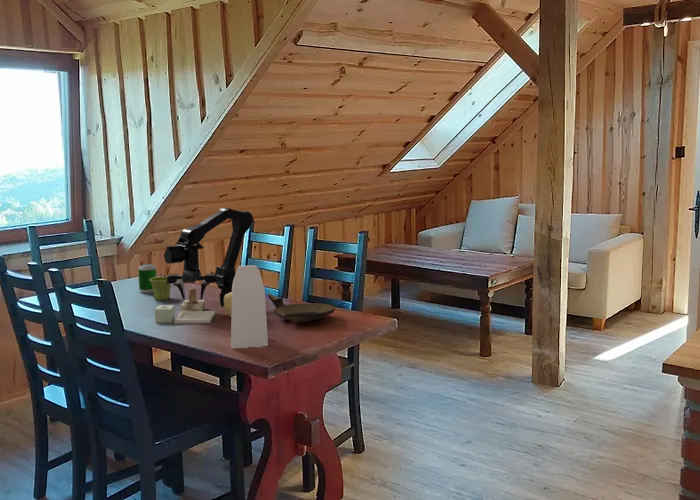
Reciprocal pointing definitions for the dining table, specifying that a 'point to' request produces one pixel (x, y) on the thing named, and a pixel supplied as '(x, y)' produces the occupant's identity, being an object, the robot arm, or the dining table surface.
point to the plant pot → (160, 288)
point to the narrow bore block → (164, 313)
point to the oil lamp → (301, 310)
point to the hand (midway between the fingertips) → (192, 299)
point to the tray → (194, 317)
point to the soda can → (146, 277)
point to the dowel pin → (192, 295)
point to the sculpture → (228, 303)
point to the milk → (248, 309)
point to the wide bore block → (193, 306)
